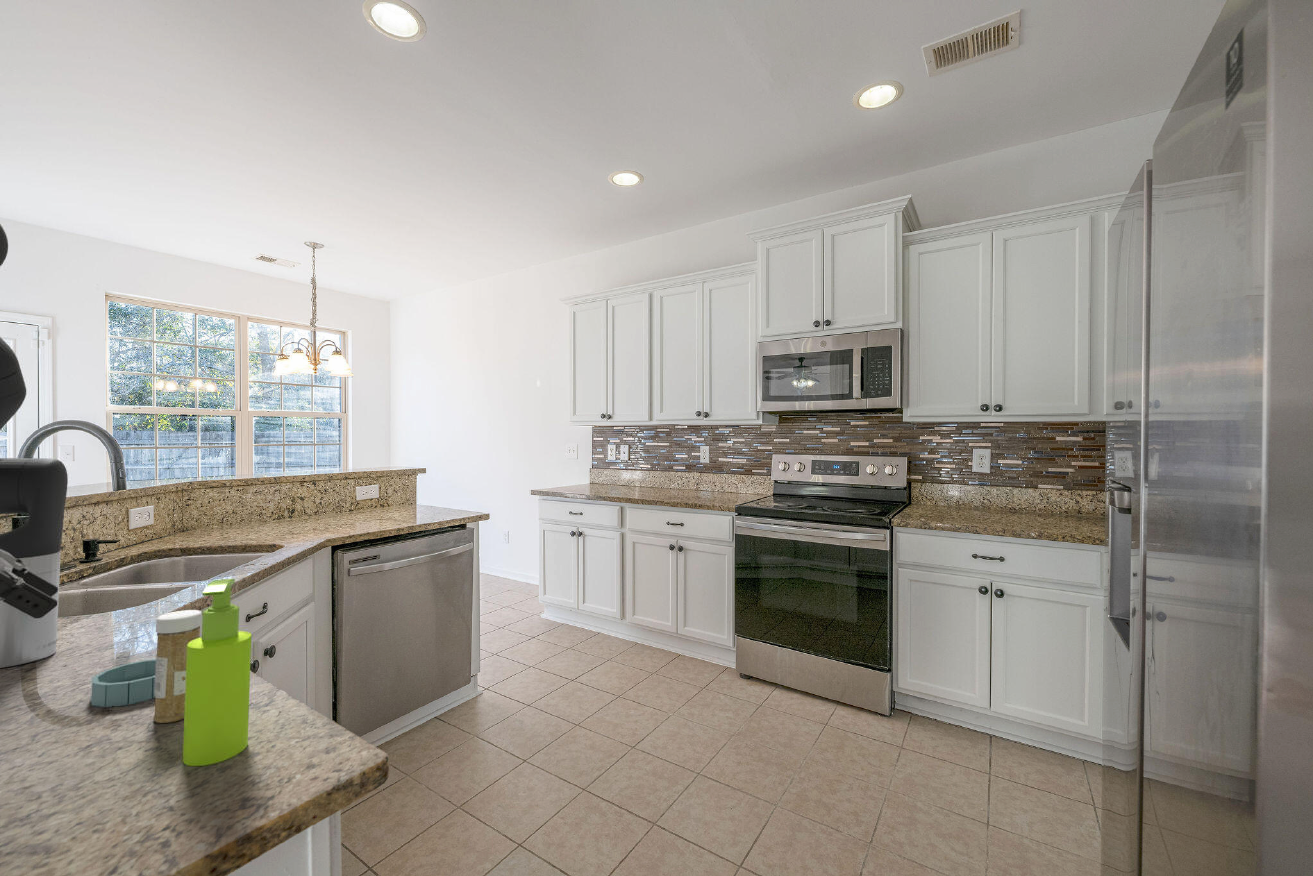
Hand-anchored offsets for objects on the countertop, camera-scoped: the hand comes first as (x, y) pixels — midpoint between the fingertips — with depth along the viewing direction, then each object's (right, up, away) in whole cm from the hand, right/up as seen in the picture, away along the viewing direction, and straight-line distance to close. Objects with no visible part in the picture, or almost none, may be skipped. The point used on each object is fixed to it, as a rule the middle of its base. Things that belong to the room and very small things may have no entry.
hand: (50, 603), depth 63 cm
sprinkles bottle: (+7, -18, +8) cm, 21 cm away
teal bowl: (-4, -17, +15) cm, 23 cm away
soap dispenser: (+20, -18, 0) cm, 26 cm away
